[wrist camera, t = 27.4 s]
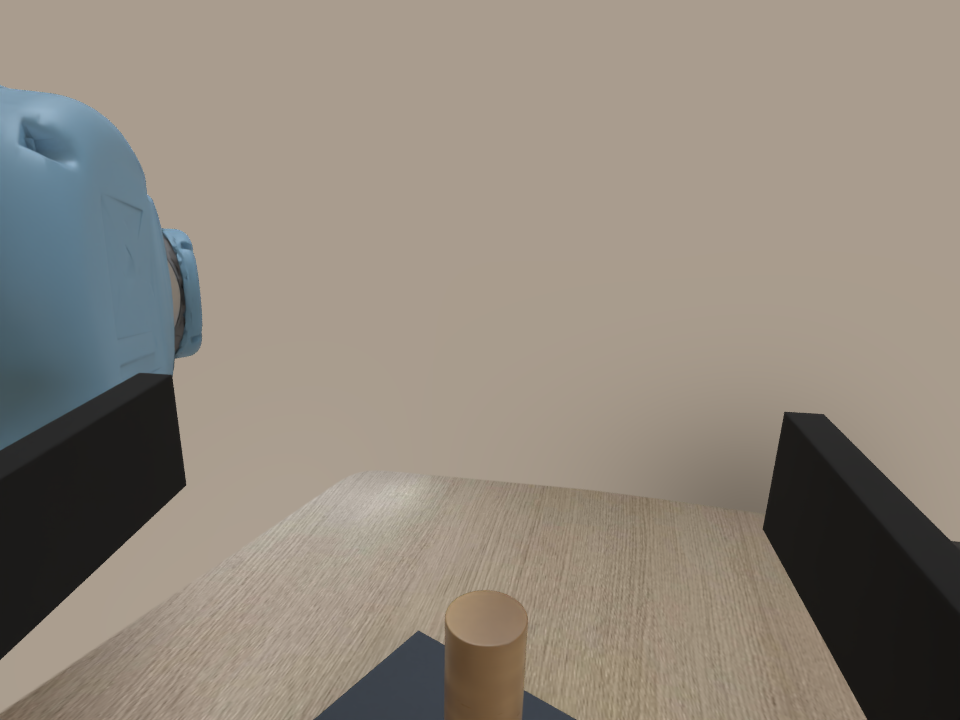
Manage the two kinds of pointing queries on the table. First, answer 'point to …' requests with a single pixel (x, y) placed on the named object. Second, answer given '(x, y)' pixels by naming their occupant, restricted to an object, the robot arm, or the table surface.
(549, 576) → the table surface
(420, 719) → the scrub mat
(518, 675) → the wooden peg stand
